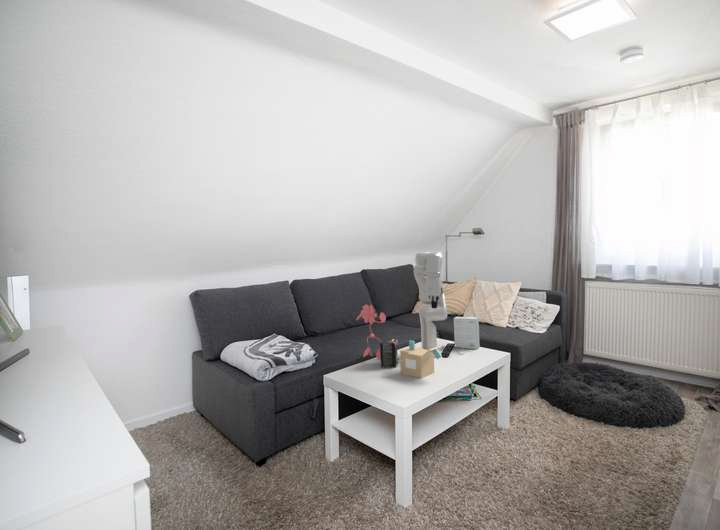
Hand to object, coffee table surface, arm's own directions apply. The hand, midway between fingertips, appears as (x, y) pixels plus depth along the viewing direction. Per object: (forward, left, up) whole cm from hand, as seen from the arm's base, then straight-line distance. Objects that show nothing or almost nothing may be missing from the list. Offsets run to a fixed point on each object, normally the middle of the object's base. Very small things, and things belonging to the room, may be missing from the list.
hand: (434, 308), depth 231 cm
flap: (+11, +5, -21) cm, 24 cm away
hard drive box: (-53, -11, -35) cm, 65 cm away
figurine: (+8, -44, -35) cm, 57 cm away
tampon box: (+9, -27, -35) cm, 45 cm away
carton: (+11, -5, -35) cm, 37 cm away
